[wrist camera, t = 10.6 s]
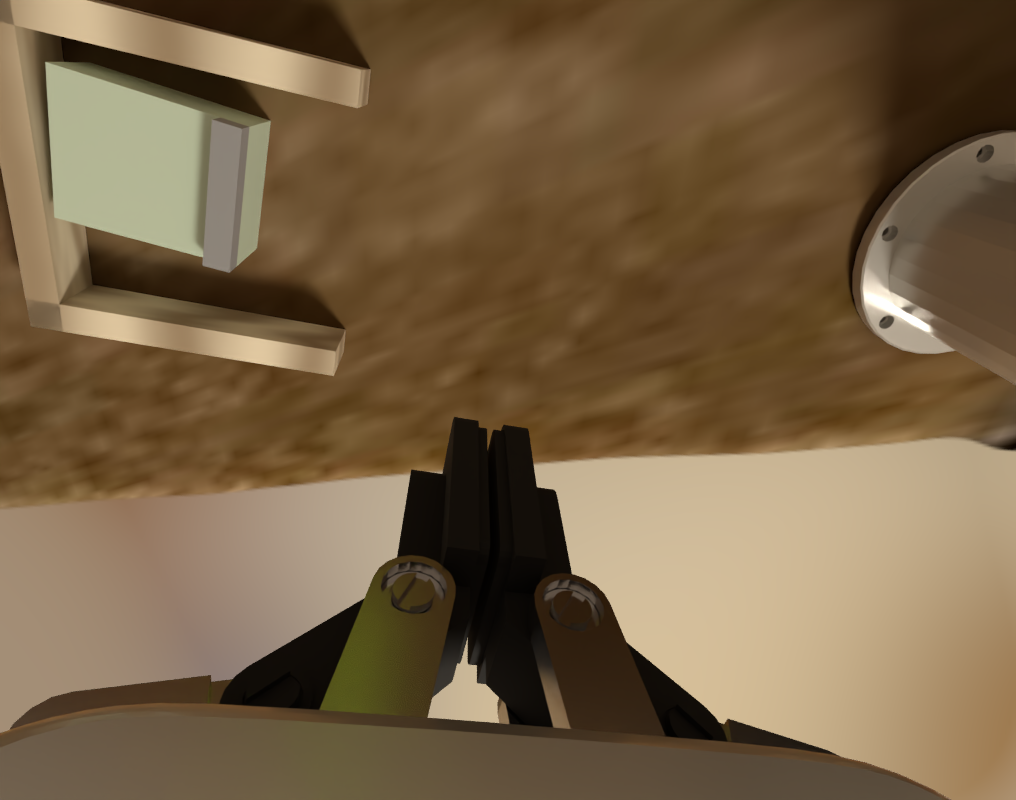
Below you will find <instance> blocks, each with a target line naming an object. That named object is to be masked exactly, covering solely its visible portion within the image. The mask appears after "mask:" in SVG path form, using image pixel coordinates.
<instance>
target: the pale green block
mask: <svg viewBox="0 0 1016 800" xmlns="http://www.w3.org/2000/svg"><path fill="white" fill-rule="evenodd" d="M45 66H46V83H47V100H48V117H49V134H50V151H51V168H52V185H53V202H54V218H58V219H62V220H65V221H69V222H73V223H77V224H80V225H84V226H88V227H91V228H95V229H99V230H103V231H106V232H110V233H114V234H118V235H121V236H125V237H129V238H133V239H136V240H140V241H144V242H147V243H151V244H155V245H159V246H162V247H166V248H170V249H174V250H177V251H181V252H185V253H188V254H192V255H196V256H200V257H203V266H206V267H210V268H214V269H217V270H221V271H225V272H229V273H230V272H231V271H232V270H233V269H234V268H235V267H236V266H238V265H239V264H240V263H241V262H242V261H243V260H244V259H245V258H247V257H248V256H249V255H250V254H251V253H252V252H253V251H255V250H256V249H257V242H258V233H259V224H260V215H261V206H262V197H263V188H264V178H265V169H266V160H267V151H268V142H269V133H270V123H271V121H270V120H267V119H264V118H261V117H258V116H254V115H251V114H248V113H245V112H242V111H239V110H236V109H233V108H230V107H227V106H223V105H220V104H217V103H214V102H211V101H208V100H205V99H202V98H199V97H196V96H192V95H189V94H186V93H183V92H180V91H177V90H174V89H171V88H168V87H165V86H161V85H158V84H155V83H152V82H149V81H146V80H143V79H140V78H137V77H134V76H130V75H127V74H124V73H121V72H118V71H115V70H112V69H109V68H106V67H103V66H99V65H96V64H93V63H90V62H45Z"/></svg>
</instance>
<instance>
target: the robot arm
mask: <svg viewBox="0 0 1016 800" xmlns="http://www.w3.org/2000/svg"><path fill="white" fill-rule="evenodd" d="M853 296H854V301H855V305H856V309H857V311H858V313H859V315H860V317H861V319H862V321H863V323H864V324H865V325H866V326H867V327H868V328H869V329H870V330H871V331H872V332H873V333H874V334H875V335H876V336H878V337H879V338H881V339H882V340H884V341H885V342H887V343H888V344H890V345H892V346H895V347H897V348H899V349H901V350H904V351H909V352H914V353H919V354H938V353H944V352H950V351H958V352H959V353H961V354H963V355H965V356H966V357H968V358H970V359H972V360H973V361H975V362H977V363H979V364H980V365H982V366H984V367H985V368H987V369H989V370H991V371H992V372H994V373H996V374H998V375H999V376H1001V377H1003V378H1005V379H1006V380H1008V381H1010V382H1011V383H1013V384H1015V385H1016V131H1015V130H1000V131H994V132H989V133H983V134H979V135H976V136H973V137H970V138H968V139H965V140H962V141H959V142H957V143H955V144H953V145H951V146H949V147H947V148H946V149H944V150H942V151H940V152H938V153H937V154H935V155H933V156H932V157H930V158H929V159H928V160H926V161H925V162H924V163H922V164H921V165H920V166H918V167H917V168H916V169H914V170H913V171H912V172H911V173H910V174H909V175H908V176H907V177H906V178H905V179H904V180H903V181H902V182H901V183H900V184H899V185H898V186H897V187H896V188H895V189H893V191H892V192H891V193H890V194H889V196H888V197H887V198H886V200H885V201H884V202H883V203H882V205H881V206H880V207H879V209H878V210H877V211H876V213H875V215H874V217H873V218H872V220H871V222H870V224H869V225H868V227H867V229H866V231H865V233H864V235H863V238H862V240H861V243H860V246H859V248H858V251H857V254H856V259H855V264H854V269H853ZM467 637H468V664H470V665H477V683H481V684H486V685H487V686H488V687H489V688H490V689H491V690H492V691H493V692H494V693H495V694H496V695H497V696H498V697H499V700H498V718H499V723H489V722H475V721H462V720H449V719H437V718H427V717H428V713H429V709H430V704H431V700H432V697H433V696H435V695H436V694H437V693H439V692H440V691H441V690H442V689H443V688H444V687H446V686H447V685H448V684H450V683H451V682H452V680H453V677H454V673H455V669H456V665H457V663H460V662H461V659H462V656H463V652H464V648H465V645H466V641H467ZM0 800H951V799H949V798H947V797H945V796H944V795H942V794H940V793H938V792H937V791H935V790H933V789H931V788H929V787H927V786H924V785H922V784H920V783H918V782H915V781H913V780H911V779H909V778H907V777H905V776H902V775H900V774H897V773H895V772H892V771H889V770H886V769H883V768H880V767H877V766H874V765H871V764H868V763H865V762H861V761H856V760H852V759H848V758H844V757H840V756H838V755H836V754H834V753H832V752H830V751H828V750H825V749H822V748H819V747H816V746H812V745H809V744H806V743H803V742H800V741H797V740H793V739H790V738H787V737H784V736H781V735H778V734H774V733H771V732H768V731H765V730H762V729H758V728H755V727H752V726H749V725H746V724H743V723H739V722H737V721H734V720H730V719H727V721H726V722H725V724H721V723H719V722H718V721H717V719H716V718H715V717H714V716H713V715H712V714H711V713H710V711H708V709H707V708H705V707H704V706H703V705H702V704H701V703H700V702H699V701H697V700H696V699H695V698H694V697H692V696H691V695H690V694H689V693H688V692H686V691H685V690H684V689H683V688H681V687H680V686H679V685H678V684H677V683H675V682H674V681H673V680H672V679H670V678H669V677H668V676H667V675H666V674H664V673H663V672H662V671H661V670H660V669H658V668H657V667H656V666H655V665H653V664H652V663H651V662H650V661H649V660H647V659H646V658H645V657H644V656H642V655H641V654H640V653H639V652H638V651H636V650H635V649H634V648H633V647H632V646H630V645H629V644H628V643H627V642H626V640H625V638H624V636H623V633H622V631H621V629H620V626H619V624H618V621H617V619H616V617H615V615H614V612H613V609H612V607H611V605H610V603H609V601H608V599H607V598H606V596H605V594H604V593H603V592H602V591H601V590H600V589H599V588H598V587H597V586H596V585H594V584H593V583H591V582H590V581H588V580H586V579H585V578H582V577H579V576H576V575H573V574H572V573H571V567H570V562H569V557H568V551H567V546H566V541H565V536H564V530H563V525H562V520H561V514H560V509H559V504H558V499H557V495H556V492H555V491H554V490H552V489H545V488H538V487H537V486H536V479H535V473H534V465H533V458H532V451H531V444H530V438H529V431H528V429H527V428H521V427H514V426H508V425H503V427H502V430H501V431H499V430H493V432H492V436H491V440H490V444H489V448H488V451H487V429H486V428H479V423H478V421H476V420H470V419H463V418H457V417H454V419H453V423H452V428H451V433H450V438H449V443H448V448H447V453H446V458H445V464H444V469H443V474H438V473H431V472H424V471H417V470H411V475H410V482H409V487H408V493H407V500H406V506H405V512H404V518H403V524H402V531H401V536H400V543H399V549H398V555H397V558H395V559H392V560H390V561H388V562H387V563H385V564H384V565H382V566H381V567H380V568H379V569H378V571H377V572H376V574H375V575H374V577H373V579H372V582H371V584H370V587H369V589H368V592H367V594H366V597H365V598H364V599H363V600H361V601H359V602H357V603H356V604H354V605H352V606H351V607H349V608H347V609H345V610H344V611H342V612H340V613H339V614H337V615H335V616H333V617H332V618H330V619H328V620H327V621H325V622H323V623H322V624H320V625H318V626H316V627H315V628H313V629H311V630H310V631H308V632H306V633H304V634H303V635H301V636H299V637H298V638H296V639H294V640H292V641H291V642H289V643H287V644H286V645H284V646H282V647H281V648H279V649H277V650H276V651H274V652H272V653H270V654H269V655H267V656H265V657H263V658H262V659H260V660H258V661H257V662H255V663H253V664H252V665H250V666H248V667H247V668H246V669H244V670H243V671H242V672H240V673H239V674H238V675H236V676H235V677H234V678H233V679H231V680H223V681H215V682H211V675H208V676H199V677H191V678H183V679H174V680H166V681H158V682H150V683H141V684H133V685H125V686H117V687H108V688H100V689H91V690H84V691H75V692H70V693H67V694H62V695H58V696H55V697H51V698H49V699H47V700H46V701H44V702H42V703H40V704H38V705H36V706H35V707H32V708H31V709H30V710H29V711H27V712H26V713H25V714H24V715H23V716H22V717H21V718H19V719H18V720H17V721H16V722H15V723H14V724H13V725H12V727H11V728H10V730H8V731H5V732H2V733H0Z"/></svg>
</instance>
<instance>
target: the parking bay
mask: <svg viewBox="0 0 1016 800" xmlns="http://www.w3.org/2000/svg"><path fill="white" fill-rule="evenodd" d="M61 37H65V38H70V39H74V40H78V41H82V42H86V43H90V44H94V45H99V46H103V47H107V48H111V49H115V50H119V51H123V52H128V53H132V54H136V55H140V56H144V57H148V58H152V59H156V60H161V61H165V62H169V63H173V64H177V65H181V66H185V67H190V68H194V69H198V70H202V71H206V72H210V73H214V74H219V75H223V76H227V77H231V78H235V79H239V80H243V81H247V82H252V83H256V84H260V85H264V86H268V87H272V88H276V89H281V90H285V91H289V92H293V93H297V94H301V95H305V96H309V97H314V98H318V99H322V100H326V101H330V102H334V103H338V104H343V105H347V106H351V107H355V108H359V107H362V106H364V105H367V104H368V94H369V83H370V73H371V69H367V68H363V67H359V66H355V65H351V64H347V63H343V62H340V61H336V60H332V59H328V58H324V57H320V56H316V55H312V54H308V53H304V52H300V51H296V50H292V49H288V48H284V47H280V46H277V45H273V44H269V43H265V42H261V41H257V40H253V39H249V38H245V37H241V36H237V35H233V34H229V33H225V32H221V31H217V30H214V29H210V28H206V27H202V26H198V25H194V24H190V23H186V22H182V21H178V20H174V19H170V18H166V17H162V16H158V15H154V14H151V13H147V12H143V11H139V10H135V9H131V8H127V7H123V6H119V5H115V4H111V3H107V2H103V1H99V0H0V166H1V171H2V177H3V182H4V187H5V192H6V198H7V203H8V208H9V214H10V219H11V224H12V229H13V235H14V240H15V245H16V250H17V256H18V261H19V266H20V271H21V277H22V282H23V287H24V293H25V298H26V303H27V308H28V314H29V319H30V324H31V326H32V327H39V328H45V329H51V330H57V331H63V332H69V333H75V334H81V335H87V336H93V337H100V338H106V339H112V340H118V341H124V342H130V343H136V344H142V345H148V346H155V347H161V348H167V349H173V350H179V351H185V352H191V353H197V354H203V355H210V356H216V357H222V358H228V359H234V360H240V361H246V362H252V363H258V364H265V365H271V366H277V367H283V368H289V369H295V370H301V371H307V372H313V373H320V374H326V375H332V376H334V374H335V371H336V369H337V367H338V364H339V362H340V359H341V357H342V355H343V352H344V342H345V331H346V330H345V329H340V328H334V327H328V326H323V325H317V324H312V323H306V322H300V321H295V320H289V319H283V318H278V317H272V316H266V315H261V314H255V313H250V312H244V311H238V310H233V309H227V308H221V307H216V306H210V305H204V304H199V303H193V302H188V301H182V300H176V299H171V298H165V297H159V296H154V295H148V294H142V293H137V292H131V291H126V290H120V289H114V288H109V287H103V286H97V285H93V284H92V276H91V268H90V260H89V253H88V245H87V237H86V229H85V226H84V225H80V224H77V223H73V222H69V221H65V220H62V219H58V218H54V202H53V185H52V168H51V151H50V134H49V117H48V100H47V83H46V66H45V62H64V58H63V51H62V43H61Z"/></svg>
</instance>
